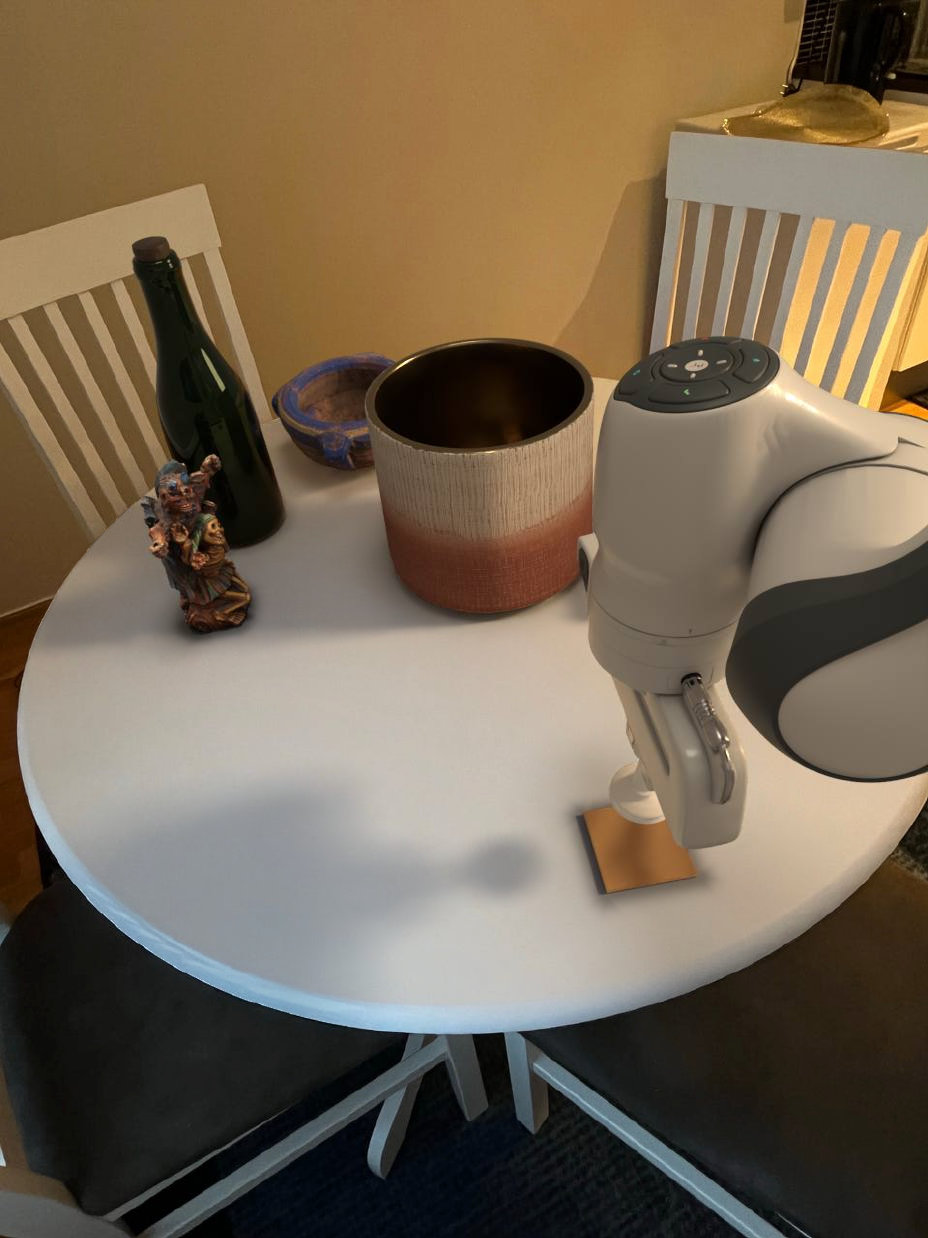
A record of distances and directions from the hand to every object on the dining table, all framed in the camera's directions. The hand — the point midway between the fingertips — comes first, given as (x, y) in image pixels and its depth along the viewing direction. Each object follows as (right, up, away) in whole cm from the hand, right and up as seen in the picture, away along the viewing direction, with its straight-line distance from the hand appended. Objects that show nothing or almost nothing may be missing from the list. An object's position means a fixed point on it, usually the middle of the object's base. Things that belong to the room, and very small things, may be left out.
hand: (648, 760), depth 58 cm
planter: (-10, +17, +35) cm, 40 cm away
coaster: (+1, -8, +8) cm, 11 cm away
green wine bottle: (-39, +21, +43) cm, 62 cm away
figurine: (-38, +10, +31) cm, 50 cm away
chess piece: (0, -3, +3) cm, 4 cm away
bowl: (-26, +31, +51) cm, 66 cm away
